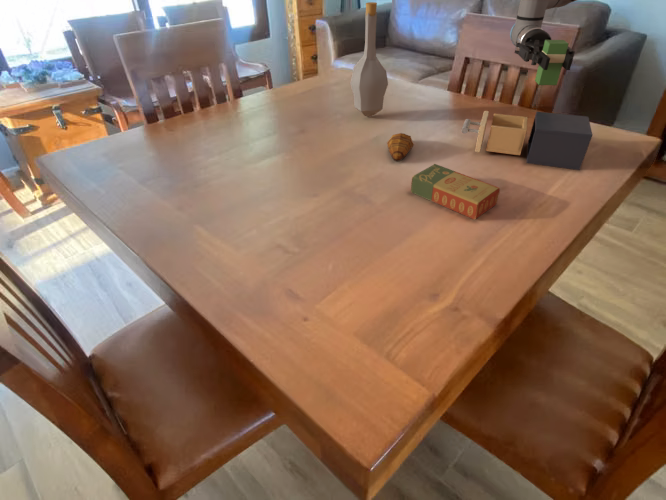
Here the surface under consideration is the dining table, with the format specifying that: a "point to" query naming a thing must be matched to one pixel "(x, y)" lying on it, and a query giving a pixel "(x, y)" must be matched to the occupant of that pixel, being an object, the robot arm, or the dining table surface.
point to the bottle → (369, 71)
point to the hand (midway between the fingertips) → (558, 64)
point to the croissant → (399, 146)
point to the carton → (455, 190)
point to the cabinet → (559, 140)
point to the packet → (552, 62)
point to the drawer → (500, 133)
